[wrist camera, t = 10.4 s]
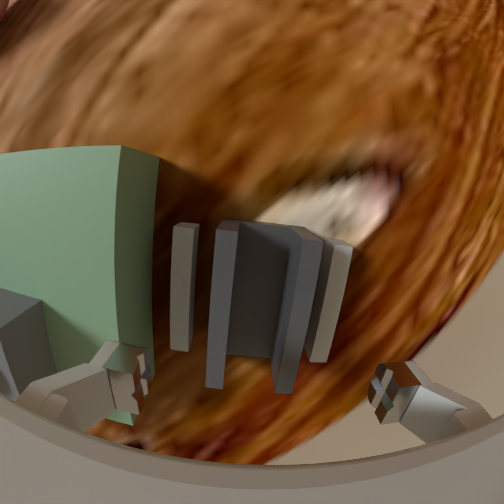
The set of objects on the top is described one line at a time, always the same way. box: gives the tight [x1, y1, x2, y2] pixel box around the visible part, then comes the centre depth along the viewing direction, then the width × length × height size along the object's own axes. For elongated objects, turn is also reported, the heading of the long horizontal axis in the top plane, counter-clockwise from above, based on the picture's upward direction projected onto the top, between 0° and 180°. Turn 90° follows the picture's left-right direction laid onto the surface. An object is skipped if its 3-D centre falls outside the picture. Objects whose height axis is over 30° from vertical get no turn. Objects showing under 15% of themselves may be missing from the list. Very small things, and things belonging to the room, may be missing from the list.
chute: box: [205, 218, 324, 394], centre depth 16 cm, size 5×9×5 cm, turn 173°
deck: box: [0, 145, 353, 426], centre depth 13 cm, size 16×24×11 cm, turn 83°
